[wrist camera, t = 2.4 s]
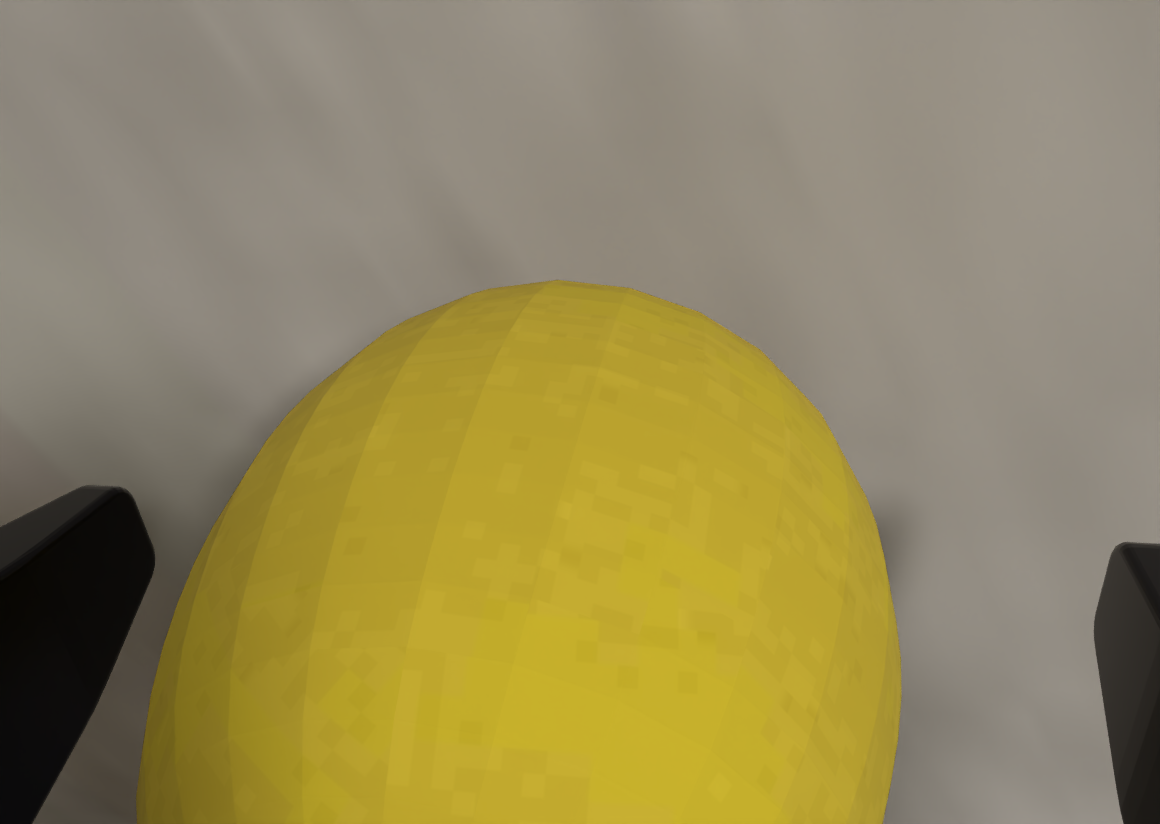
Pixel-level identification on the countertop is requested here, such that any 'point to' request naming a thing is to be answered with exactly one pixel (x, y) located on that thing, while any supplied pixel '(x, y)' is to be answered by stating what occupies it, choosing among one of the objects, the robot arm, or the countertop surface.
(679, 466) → the lemon
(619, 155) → the countertop surface
